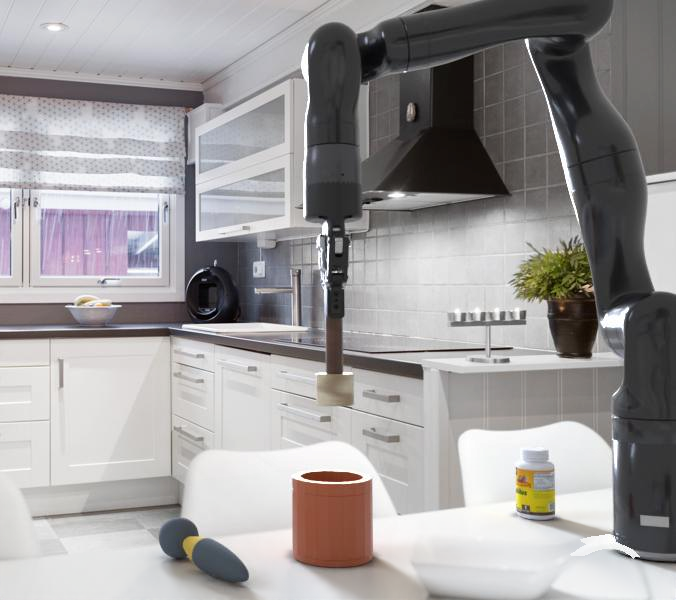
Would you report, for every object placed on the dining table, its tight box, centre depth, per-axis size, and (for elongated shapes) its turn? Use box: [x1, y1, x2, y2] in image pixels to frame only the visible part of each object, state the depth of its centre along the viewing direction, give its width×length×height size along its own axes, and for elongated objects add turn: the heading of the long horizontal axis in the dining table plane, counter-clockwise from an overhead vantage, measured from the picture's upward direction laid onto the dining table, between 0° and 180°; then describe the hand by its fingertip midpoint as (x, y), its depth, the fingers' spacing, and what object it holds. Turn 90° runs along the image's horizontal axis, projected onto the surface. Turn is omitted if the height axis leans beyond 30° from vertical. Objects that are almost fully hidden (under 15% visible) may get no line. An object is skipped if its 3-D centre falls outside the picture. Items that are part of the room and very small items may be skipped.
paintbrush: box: [158, 517, 250, 584], centre depth 100 cm, size 20×5×5 cm, turn 38°
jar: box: [291, 469, 374, 568], centre depth 105 cm, size 10×10×10 cm
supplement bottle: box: [515, 446, 556, 521], centre depth 126 cm, size 6×6×10 cm
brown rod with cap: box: [315, 286, 355, 407], centre depth 106 cm, size 5×5×16 cm
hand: (334, 317), depth 106 cm, fingers closed on brown rod with cap
